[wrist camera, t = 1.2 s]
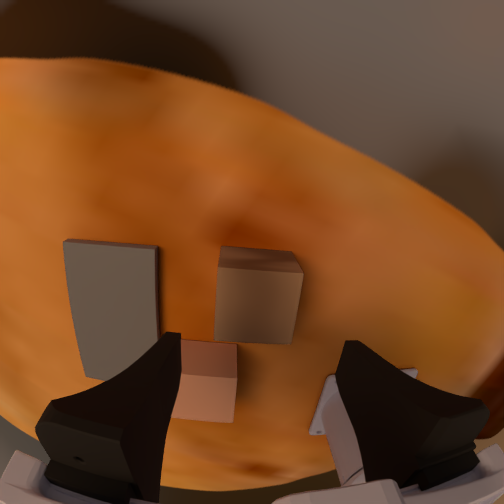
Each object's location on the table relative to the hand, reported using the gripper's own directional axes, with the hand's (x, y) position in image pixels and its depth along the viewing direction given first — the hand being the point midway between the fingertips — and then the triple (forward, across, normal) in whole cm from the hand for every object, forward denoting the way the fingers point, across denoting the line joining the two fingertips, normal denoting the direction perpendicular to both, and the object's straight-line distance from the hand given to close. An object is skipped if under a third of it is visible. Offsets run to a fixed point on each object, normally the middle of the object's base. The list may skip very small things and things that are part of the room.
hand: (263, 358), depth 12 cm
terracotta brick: (+8, +3, +8) cm, 12 cm away
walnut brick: (+8, 0, 0) cm, 8 cm away
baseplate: (+8, +10, +4) cm, 14 cm away
